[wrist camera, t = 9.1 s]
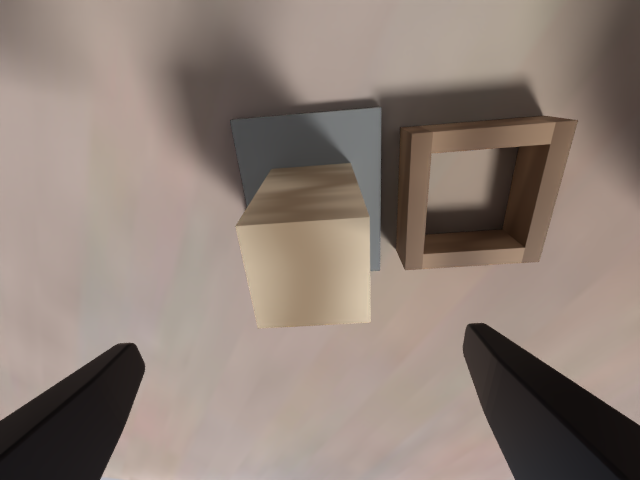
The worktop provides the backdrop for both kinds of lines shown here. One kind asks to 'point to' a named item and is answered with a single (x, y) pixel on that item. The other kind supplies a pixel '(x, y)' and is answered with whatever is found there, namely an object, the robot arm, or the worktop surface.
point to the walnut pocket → (524, 199)
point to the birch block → (307, 248)
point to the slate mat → (315, 152)
